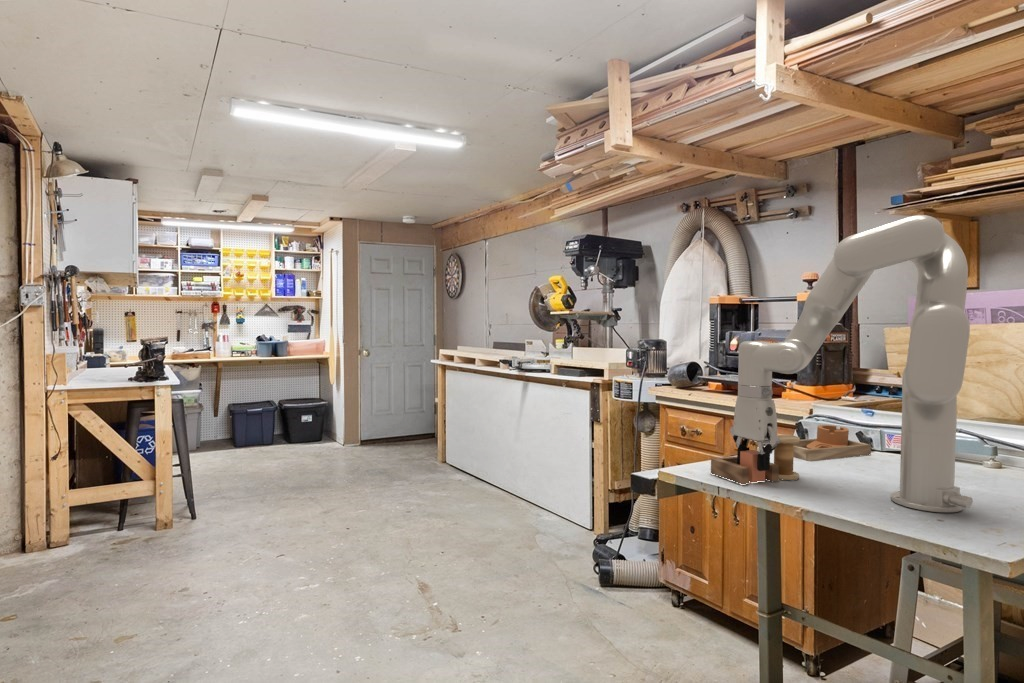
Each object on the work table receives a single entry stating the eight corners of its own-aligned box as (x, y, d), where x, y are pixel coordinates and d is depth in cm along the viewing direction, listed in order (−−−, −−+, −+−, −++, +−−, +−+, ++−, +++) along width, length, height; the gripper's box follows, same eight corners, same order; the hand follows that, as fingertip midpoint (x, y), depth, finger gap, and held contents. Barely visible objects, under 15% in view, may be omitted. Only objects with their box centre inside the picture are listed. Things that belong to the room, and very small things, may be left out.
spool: (805, 479, 149) (806, 438, 149) (783, 481, 147) (784, 440, 146) (783, 472, 156) (784, 433, 156) (761, 474, 153) (762, 435, 153)
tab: (765, 482, 146) (765, 453, 146) (752, 484, 145) (752, 454, 144) (752, 478, 150) (752, 449, 150) (739, 479, 148) (740, 451, 148)
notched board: (778, 481, 147) (778, 465, 147) (742, 485, 143) (742, 468, 143) (745, 470, 157) (745, 455, 157) (710, 474, 153) (711, 458, 153)
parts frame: (870, 455, 177) (870, 444, 177) (809, 461, 169) (809, 450, 169) (834, 446, 189) (834, 437, 189) (775, 452, 180) (775, 442, 180)
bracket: (820, 445, 189) (822, 423, 189) (850, 450, 184) (852, 428, 183) (801, 456, 176) (803, 433, 175) (833, 463, 171) (835, 438, 170)
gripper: (795, 396, 140) (793, 474, 140) (741, 388, 156) (740, 458, 157) (769, 397, 137) (767, 477, 138) (717, 389, 153) (716, 460, 154)
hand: (753, 466), depth 147 cm, fingers open, 6 cm apart
